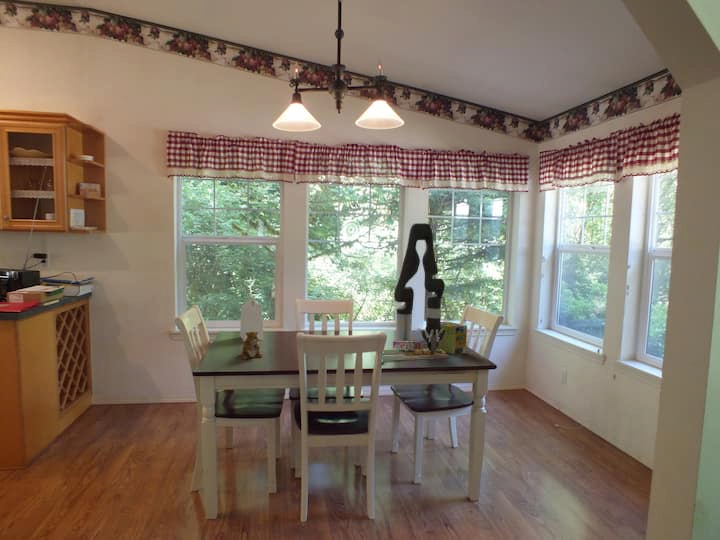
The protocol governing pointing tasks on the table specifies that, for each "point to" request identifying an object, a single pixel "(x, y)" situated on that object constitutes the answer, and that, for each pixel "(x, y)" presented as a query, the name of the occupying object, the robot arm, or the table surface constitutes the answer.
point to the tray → (392, 357)
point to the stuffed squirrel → (251, 346)
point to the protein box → (453, 338)
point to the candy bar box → (409, 345)
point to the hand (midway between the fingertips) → (432, 348)
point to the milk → (251, 319)
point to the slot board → (409, 356)
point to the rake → (433, 344)
